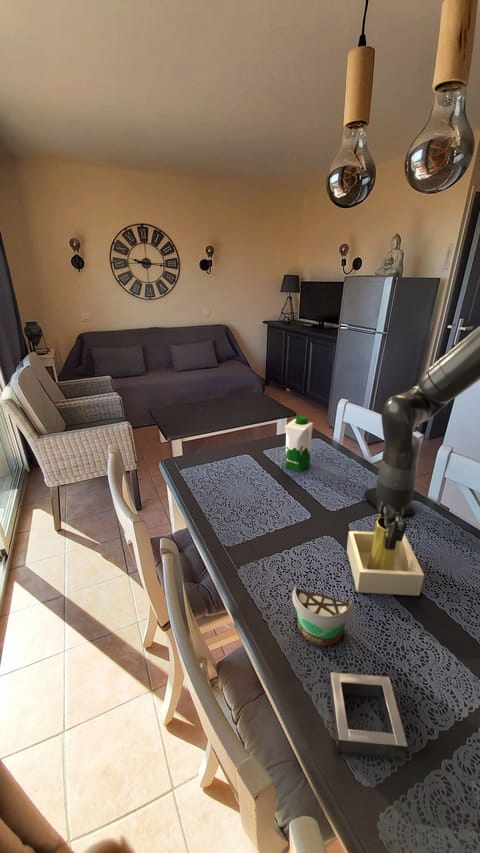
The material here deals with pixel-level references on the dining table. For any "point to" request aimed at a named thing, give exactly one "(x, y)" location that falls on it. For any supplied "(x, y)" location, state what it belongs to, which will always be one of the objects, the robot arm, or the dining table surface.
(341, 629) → the food container
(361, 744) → the grey square frame
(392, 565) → the vase
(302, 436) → the milk carton
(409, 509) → the carrying case
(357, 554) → the cream wooden open box
